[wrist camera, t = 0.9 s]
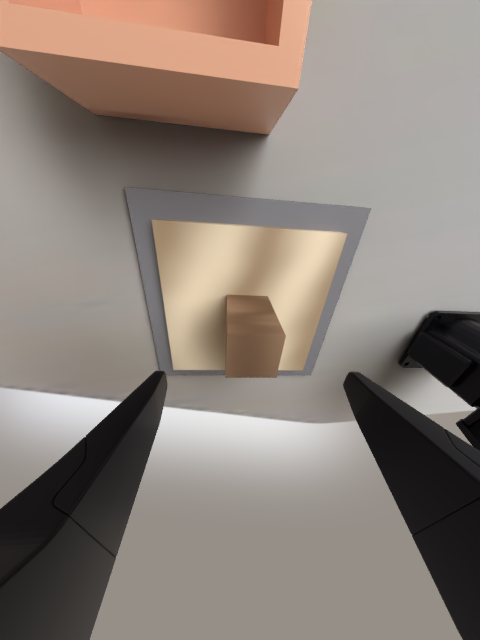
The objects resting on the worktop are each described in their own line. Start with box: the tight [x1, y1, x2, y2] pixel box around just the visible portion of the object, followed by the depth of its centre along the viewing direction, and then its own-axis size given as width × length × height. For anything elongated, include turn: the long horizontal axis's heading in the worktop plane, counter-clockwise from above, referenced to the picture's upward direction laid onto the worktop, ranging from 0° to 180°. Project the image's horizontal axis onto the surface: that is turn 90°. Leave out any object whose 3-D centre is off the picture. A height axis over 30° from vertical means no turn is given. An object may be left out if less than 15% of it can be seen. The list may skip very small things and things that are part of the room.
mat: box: [125, 187, 371, 375], centre depth 16 cm, size 15×15×1 cm
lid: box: [152, 219, 347, 377], centre depth 13 cm, size 12×12×6 cm
